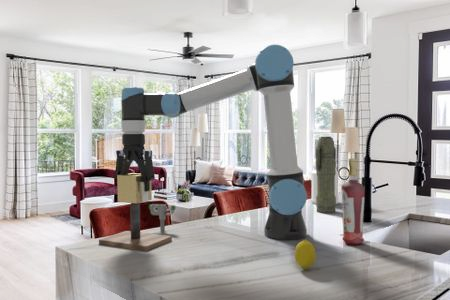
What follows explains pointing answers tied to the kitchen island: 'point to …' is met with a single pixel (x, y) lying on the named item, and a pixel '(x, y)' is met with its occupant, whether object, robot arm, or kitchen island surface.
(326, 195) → the thermos
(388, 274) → the kitchen island surface
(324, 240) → the kitchen island surface
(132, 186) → the hollow square tube
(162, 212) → the mechanical component
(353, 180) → the liquor
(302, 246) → the lemon
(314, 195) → the bottle
